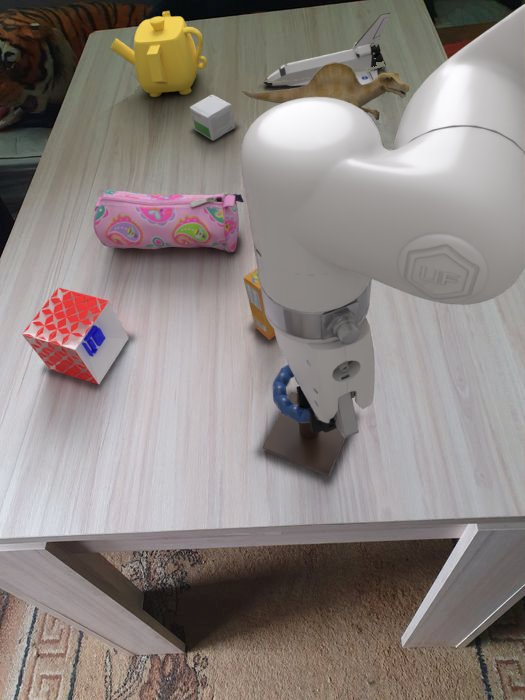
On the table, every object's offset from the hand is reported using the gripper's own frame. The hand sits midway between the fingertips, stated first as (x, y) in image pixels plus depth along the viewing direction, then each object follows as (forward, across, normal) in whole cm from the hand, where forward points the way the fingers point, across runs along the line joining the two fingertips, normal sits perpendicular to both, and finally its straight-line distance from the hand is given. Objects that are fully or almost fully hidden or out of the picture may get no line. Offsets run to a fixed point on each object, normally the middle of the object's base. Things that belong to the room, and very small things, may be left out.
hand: (320, 414), depth 51 cm
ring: (-1, +3, 0) cm, 3 cm away
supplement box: (+10, +20, -2) cm, 22 cm away
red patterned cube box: (+10, +26, +22) cm, 36 cm away
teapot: (+10, +90, -7) cm, 90 cm away
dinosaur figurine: (+10, +54, -27) cm, 62 cm away
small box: (+10, +68, -11) cm, 69 cm away
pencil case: (+10, +42, +5) cm, 43 cm away
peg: (+10, +3, 0) cm, 10 cm away
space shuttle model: (+10, +74, -37) cm, 83 cm away
